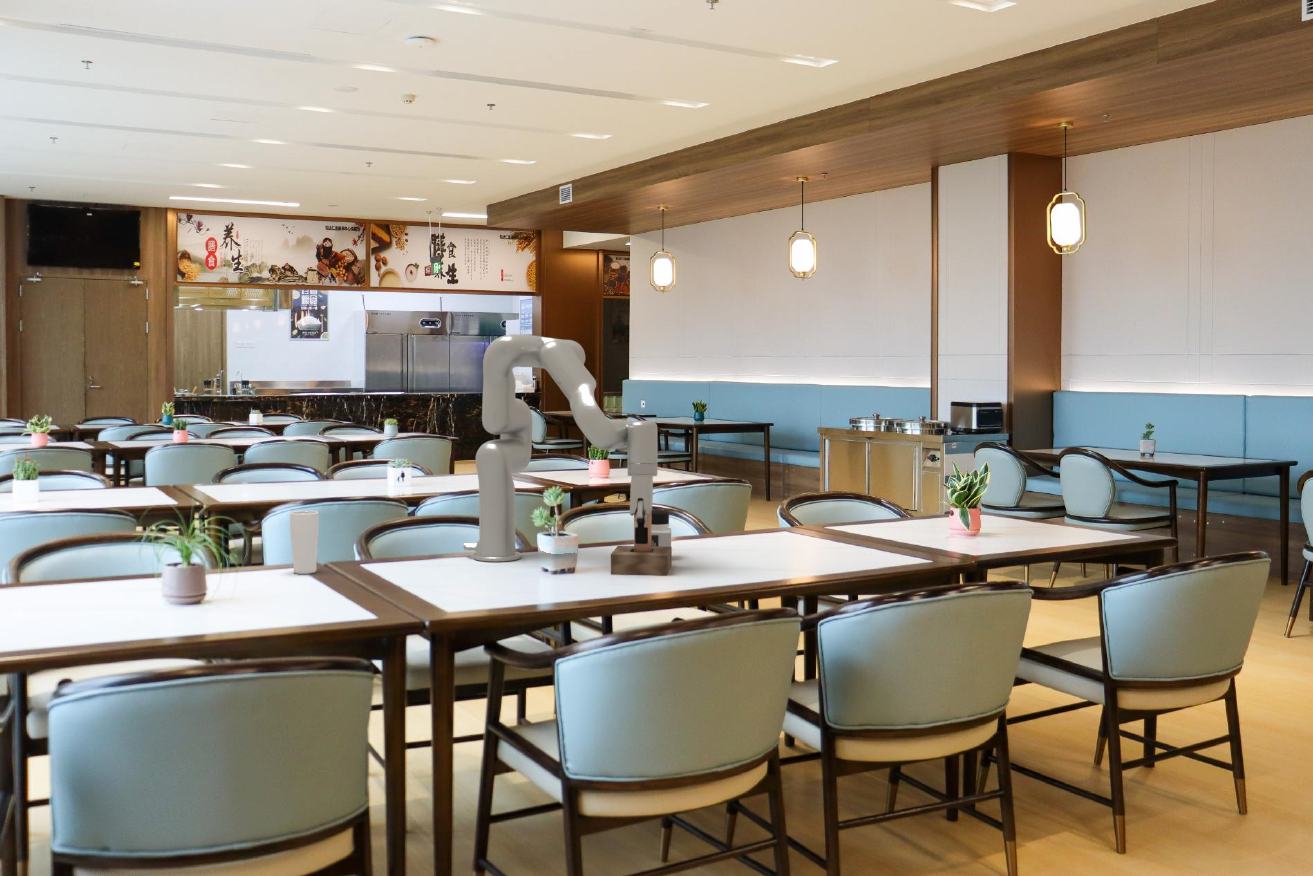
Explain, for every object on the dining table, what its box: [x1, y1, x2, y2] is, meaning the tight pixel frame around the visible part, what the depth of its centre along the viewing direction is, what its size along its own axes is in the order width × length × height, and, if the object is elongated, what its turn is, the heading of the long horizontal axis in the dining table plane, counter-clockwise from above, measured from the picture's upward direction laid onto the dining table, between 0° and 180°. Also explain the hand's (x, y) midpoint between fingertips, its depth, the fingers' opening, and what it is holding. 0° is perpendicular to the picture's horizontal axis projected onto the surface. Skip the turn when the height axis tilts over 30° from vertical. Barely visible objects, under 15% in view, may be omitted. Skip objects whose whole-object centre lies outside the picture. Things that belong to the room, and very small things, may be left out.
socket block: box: [610, 545, 673, 576], centre depth 292 cm, size 14×14×5 cm
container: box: [651, 508, 672, 547], centre depth 311 cm, size 8×8×13 cm
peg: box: [633, 511, 652, 552], centre depth 292 cm, size 4×4×12 cm
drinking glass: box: [289, 510, 320, 575], centre depth 285 cm, size 7×7×15 cm
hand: (642, 541), depth 292 cm, fingers closed on peg, 4 cm apart
